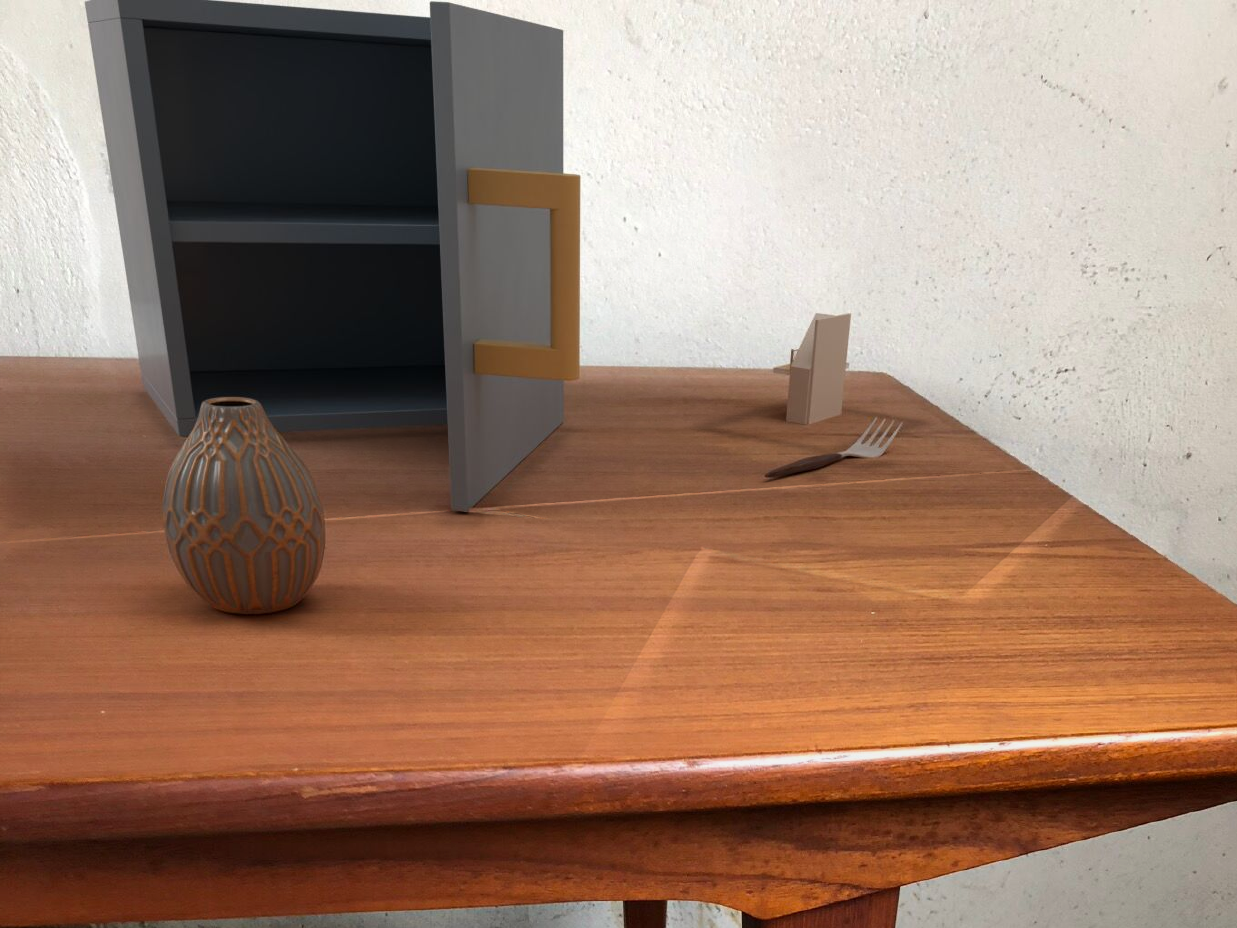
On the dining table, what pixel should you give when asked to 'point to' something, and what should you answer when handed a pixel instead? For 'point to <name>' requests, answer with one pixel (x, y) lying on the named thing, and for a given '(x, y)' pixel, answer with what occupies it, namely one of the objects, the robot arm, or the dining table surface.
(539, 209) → the cupboard door
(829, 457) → the fork
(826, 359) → the architectural model
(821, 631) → the dining table surface
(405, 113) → the cupboard
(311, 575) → the vase
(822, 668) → the dining table surface
